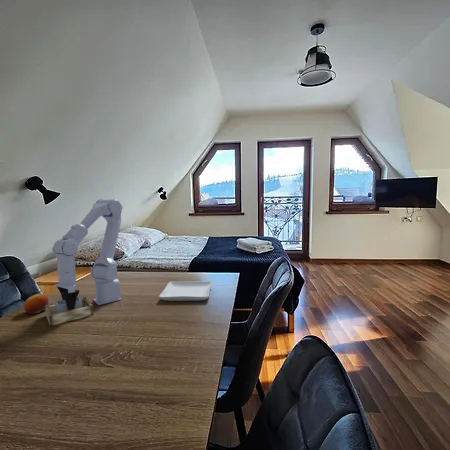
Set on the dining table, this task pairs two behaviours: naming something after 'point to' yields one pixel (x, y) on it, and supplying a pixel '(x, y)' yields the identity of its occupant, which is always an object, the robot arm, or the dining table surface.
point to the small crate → (63, 308)
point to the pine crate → (68, 313)
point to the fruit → (36, 303)
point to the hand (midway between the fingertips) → (69, 306)
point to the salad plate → (186, 291)
